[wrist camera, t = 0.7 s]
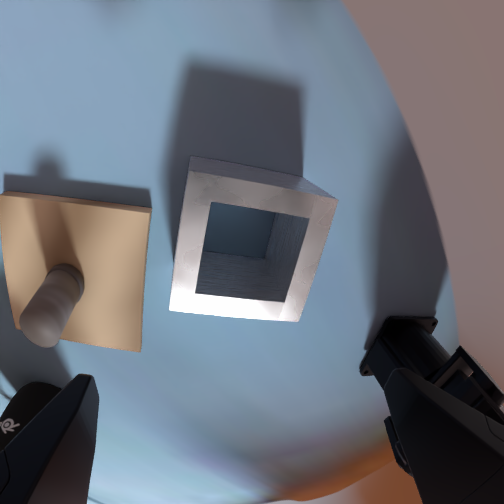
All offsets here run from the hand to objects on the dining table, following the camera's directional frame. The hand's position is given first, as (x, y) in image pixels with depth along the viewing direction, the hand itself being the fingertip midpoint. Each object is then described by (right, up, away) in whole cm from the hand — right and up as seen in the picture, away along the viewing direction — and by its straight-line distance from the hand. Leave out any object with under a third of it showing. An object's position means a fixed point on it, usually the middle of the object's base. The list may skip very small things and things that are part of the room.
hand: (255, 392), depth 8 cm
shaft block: (-12, +2, +10) cm, 16 cm away
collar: (-1, +6, +10) cm, 12 cm away
